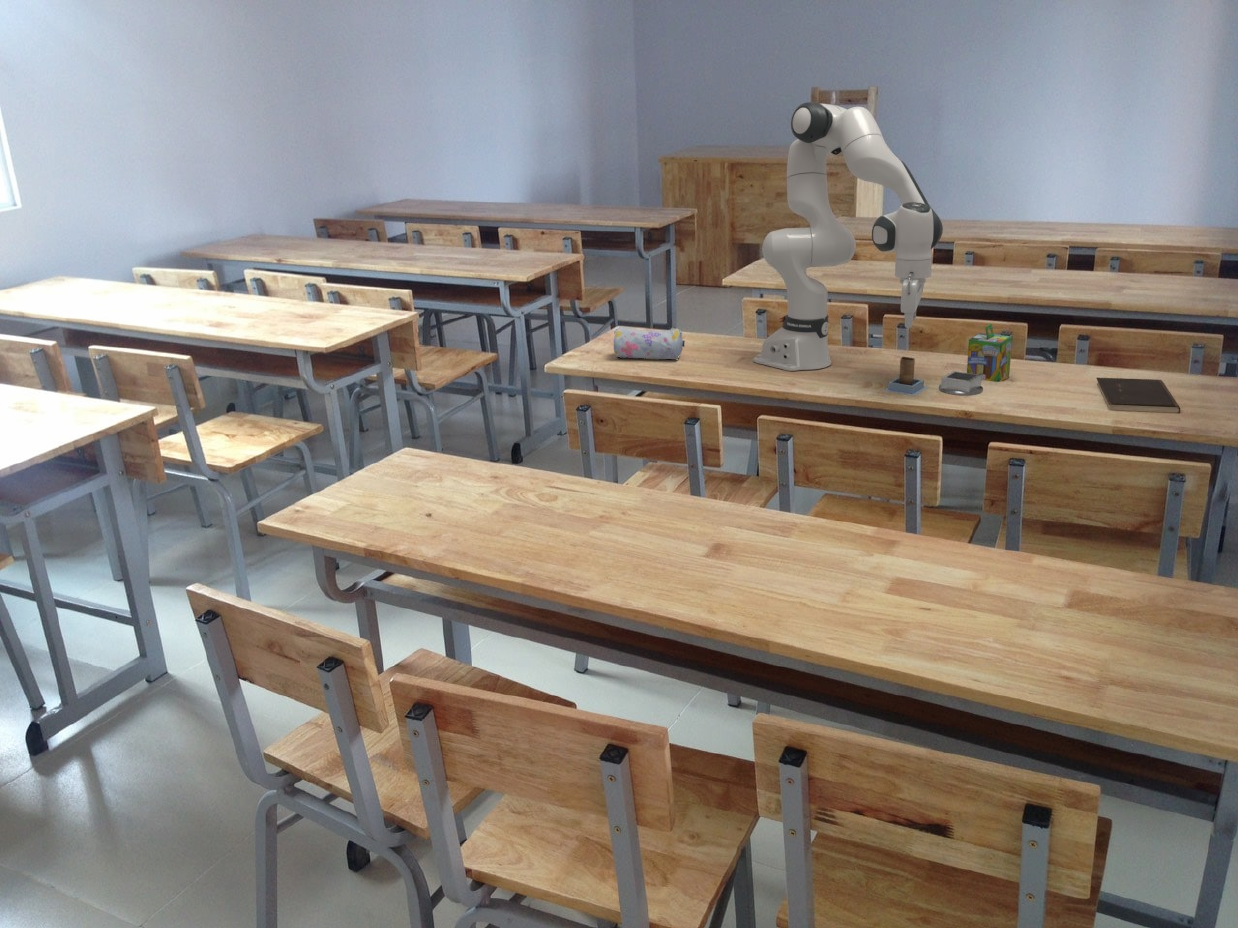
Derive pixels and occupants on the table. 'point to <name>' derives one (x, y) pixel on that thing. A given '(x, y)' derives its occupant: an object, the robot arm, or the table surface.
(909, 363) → the peg
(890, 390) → the stand
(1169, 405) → the hardcover book
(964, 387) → the hub
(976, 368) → the chalk box
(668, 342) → the pencil case
